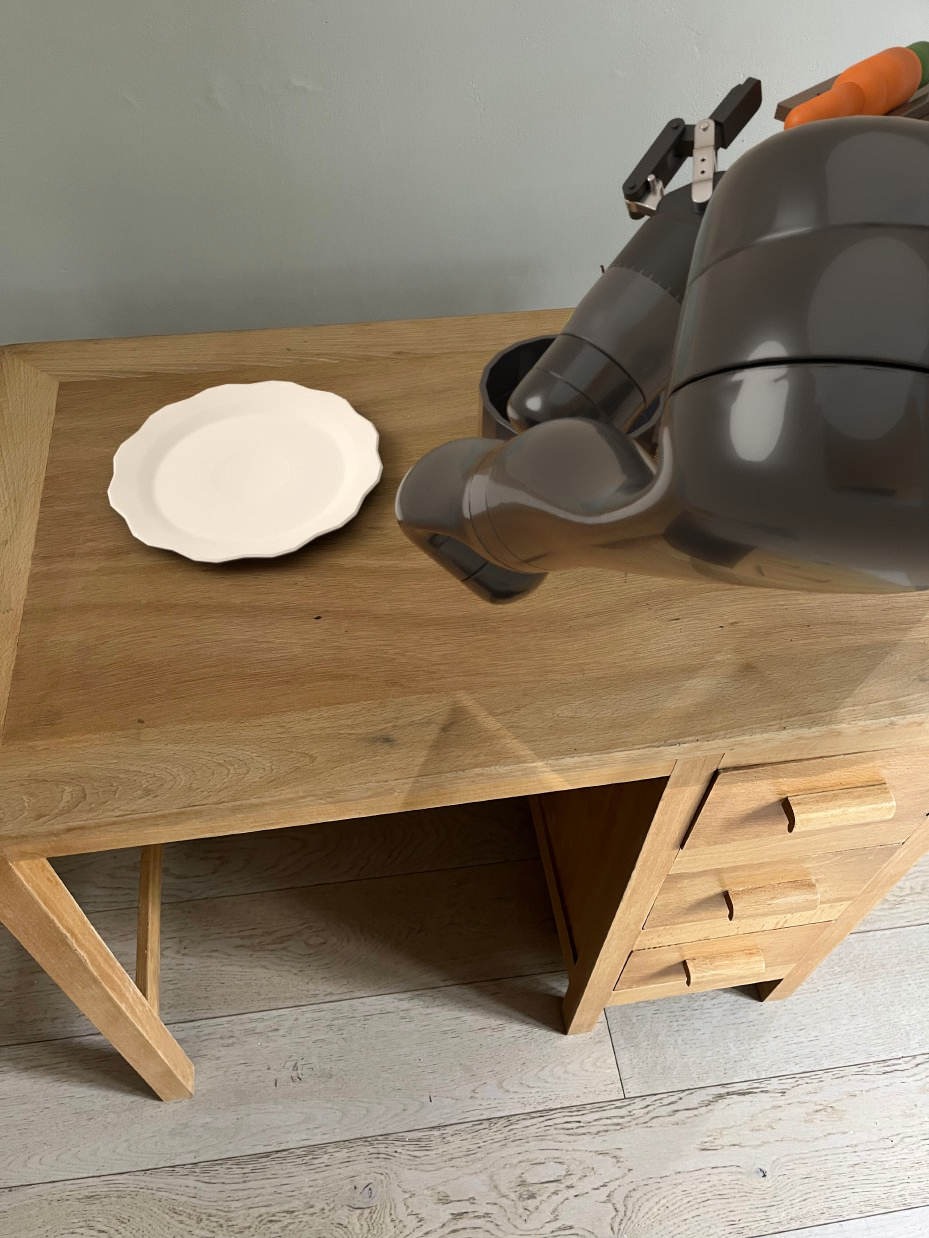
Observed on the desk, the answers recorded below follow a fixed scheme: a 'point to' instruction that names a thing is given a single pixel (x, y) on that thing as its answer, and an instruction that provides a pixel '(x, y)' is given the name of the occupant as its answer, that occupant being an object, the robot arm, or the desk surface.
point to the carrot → (870, 86)
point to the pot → (510, 372)
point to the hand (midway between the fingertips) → (815, 109)
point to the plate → (245, 471)
